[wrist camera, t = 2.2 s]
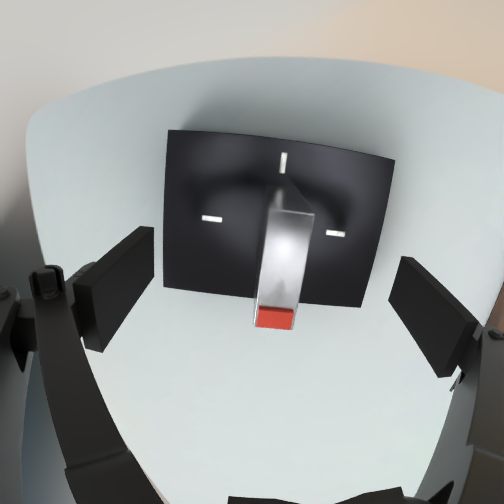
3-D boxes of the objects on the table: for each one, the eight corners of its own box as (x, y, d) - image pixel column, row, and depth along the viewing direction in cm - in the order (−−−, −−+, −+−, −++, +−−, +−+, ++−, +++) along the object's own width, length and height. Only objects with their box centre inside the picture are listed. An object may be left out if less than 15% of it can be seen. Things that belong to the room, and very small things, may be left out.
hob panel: (179, 130, 22) (167, 129, 19) (380, 156, 22) (396, 160, 19) (172, 271, 26) (162, 288, 23) (351, 290, 26) (361, 308, 24)
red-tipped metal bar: (265, 181, 20) (268, 209, 13) (295, 185, 20) (316, 215, 13) (255, 263, 22) (252, 329, 15) (282, 266, 22) (292, 333, 15)
